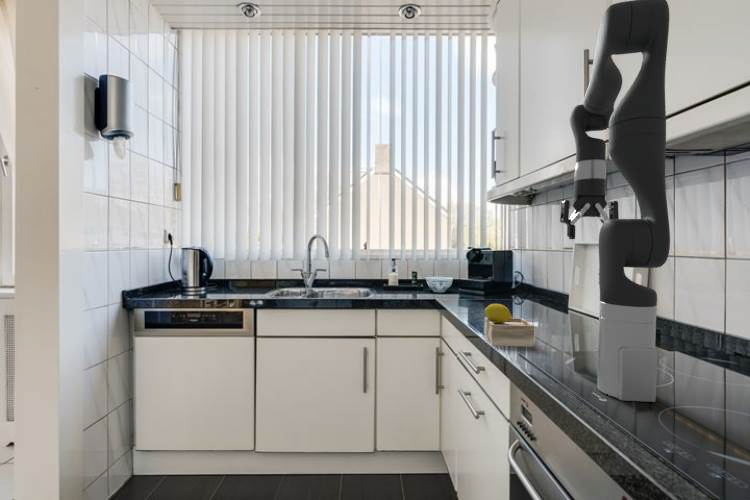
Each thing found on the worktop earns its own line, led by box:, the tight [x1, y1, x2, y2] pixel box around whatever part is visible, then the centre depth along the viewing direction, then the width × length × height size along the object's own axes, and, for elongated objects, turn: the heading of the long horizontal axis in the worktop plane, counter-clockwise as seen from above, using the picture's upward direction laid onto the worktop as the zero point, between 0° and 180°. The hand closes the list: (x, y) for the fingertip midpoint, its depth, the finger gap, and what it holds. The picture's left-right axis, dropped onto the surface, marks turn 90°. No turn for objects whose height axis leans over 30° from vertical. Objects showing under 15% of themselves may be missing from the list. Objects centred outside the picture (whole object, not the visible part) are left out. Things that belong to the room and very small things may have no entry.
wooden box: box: [483, 316, 535, 348], centre depth 116 cm, size 11×11×6 cm
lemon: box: [484, 303, 513, 323], centre depth 119 cm, size 6×6×8 cm
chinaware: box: [425, 276, 454, 293], centre depth 225 cm, size 15×15×8 cm
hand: (588, 239), depth 108 cm, fingers open, 8 cm apart
